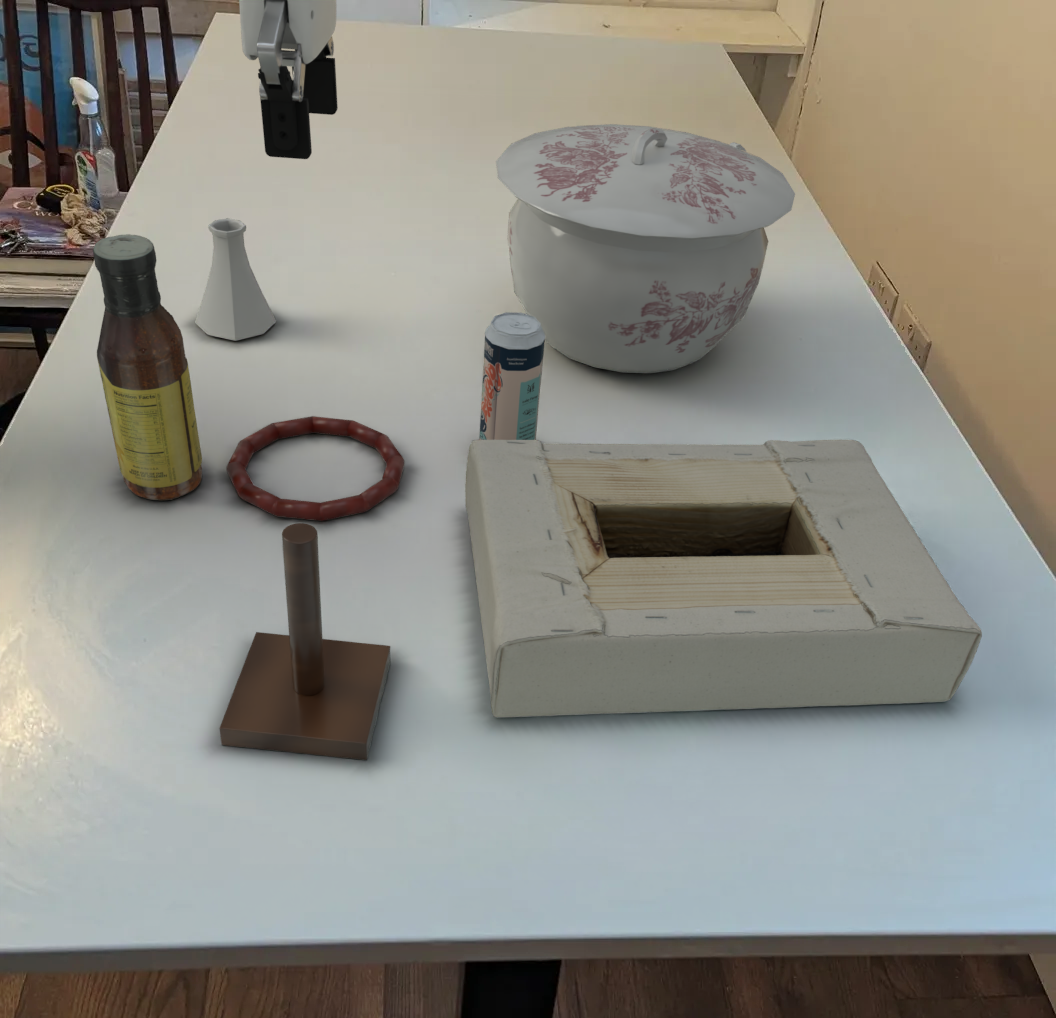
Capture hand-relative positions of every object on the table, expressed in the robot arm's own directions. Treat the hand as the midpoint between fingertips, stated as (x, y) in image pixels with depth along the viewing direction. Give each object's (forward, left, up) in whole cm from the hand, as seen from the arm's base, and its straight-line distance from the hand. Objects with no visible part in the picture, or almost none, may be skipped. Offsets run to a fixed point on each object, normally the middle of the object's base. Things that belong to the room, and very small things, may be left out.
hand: (303, 133), depth 87 cm
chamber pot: (+27, +21, -24) cm, 42 cm away
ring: (+2, -8, -24) cm, 25 cm away
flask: (-11, +16, -25) cm, 31 cm away
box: (+32, -20, -24) cm, 45 cm away
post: (+7, -34, -24) cm, 43 cm away
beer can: (+17, -2, -24) cm, 30 cm away
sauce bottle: (-10, -12, -25) cm, 29 cm away
